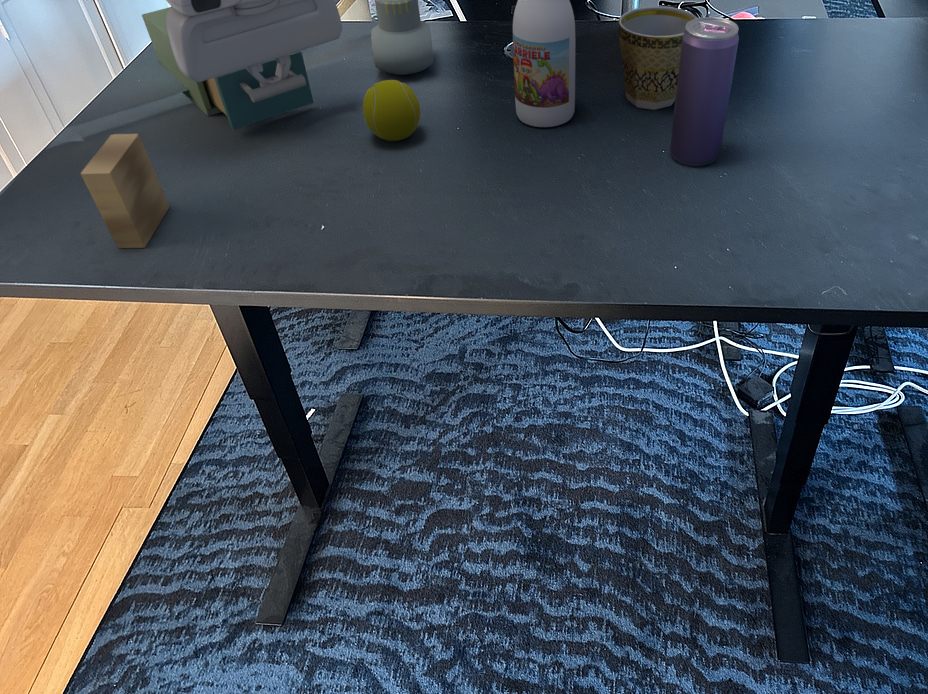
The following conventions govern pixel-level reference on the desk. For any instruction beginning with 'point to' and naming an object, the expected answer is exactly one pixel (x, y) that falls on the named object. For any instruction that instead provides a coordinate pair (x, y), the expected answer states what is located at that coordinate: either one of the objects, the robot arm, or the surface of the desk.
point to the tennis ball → (391, 110)
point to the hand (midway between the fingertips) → (276, 93)
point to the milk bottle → (544, 62)
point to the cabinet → (166, 58)
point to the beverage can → (703, 89)
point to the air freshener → (401, 38)
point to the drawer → (259, 93)
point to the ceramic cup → (652, 54)
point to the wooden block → (126, 190)
